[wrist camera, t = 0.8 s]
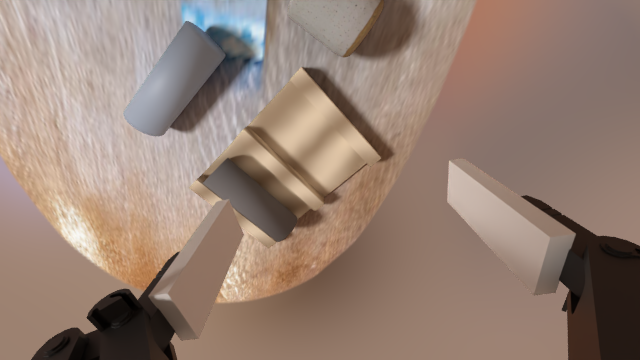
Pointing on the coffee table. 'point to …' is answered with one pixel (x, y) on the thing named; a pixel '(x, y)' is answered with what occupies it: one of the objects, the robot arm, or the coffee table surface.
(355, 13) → the ceramic mug
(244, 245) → the coffee table surface
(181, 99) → the gray dowel
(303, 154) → the slot rack
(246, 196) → the charcoal rod
